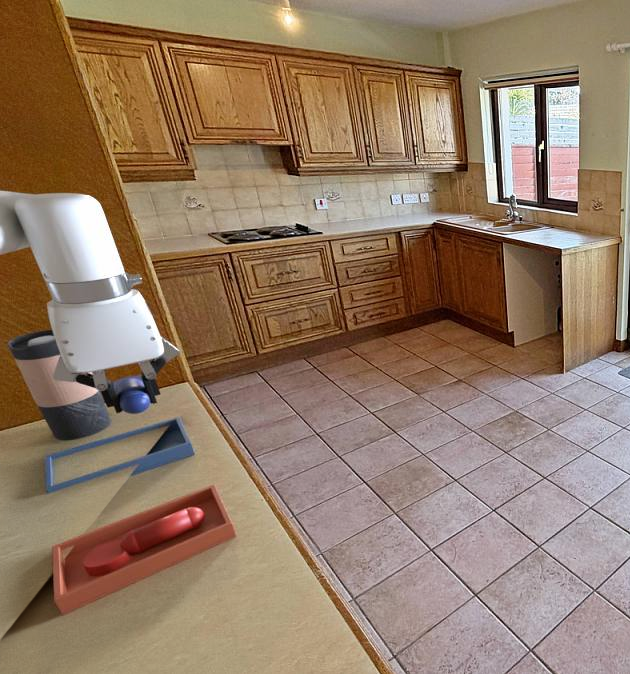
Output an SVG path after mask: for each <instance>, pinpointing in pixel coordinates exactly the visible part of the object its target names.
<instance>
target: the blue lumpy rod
mask: <svg viewBox="0 0 630 674" xmlns="http://www.w3.org/2000/svg"><path fill="white" fill-rule="evenodd" d="M141 376H142V374H140V375H137V374H136V375H131V376H126V377H122V378H119V379H117V380H115V381H113V384H114V386H115V389H116V391H117V394H118V397H119V402H120V407H121V409H122V410H123V411H122V412H124V413H127V414H130V415H137V414H141V413H144V412H145V411H146V410H148V409H149V407H150V405H151V403H150V398H149V396H148V395H147V392H146V389H145V387H144V384H143V381H142V378H141Z"/></svg>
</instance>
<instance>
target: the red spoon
mask: <svg viewBox="0 0 630 674" xmlns="http://www.w3.org/2000/svg"><path fill="white" fill-rule="evenodd" d="M203 520H204V513H203V511H202V510H201V509H199V508H197V507H189V508H186V509H183V510H181V511H178V512H176V513H173V514H171V515H168V516H166V517H163V518H161V519H158V520H156V521H153V522H151V523H148V524H146V525H143V526H141V527H138V528H136V529H133V530H131V531H129V532H128V533H126V534H125V535H124V536H123V538H122V540H118V541H112V542H109V543H106V544H104V545H101V546H99V547H97V548H96V549H94V550H93V551H91V552H90V553H89V554H88V555H87V556H86V557H85V558H84V560H83V566H84V568H85V570H86V572H87V573H88V574H89V575H91V576H101V575H105V574H108V573H111V572H113V571H115V570H117V569H119V568H121V567H122V566H124V565H125V564H126V563H127V562H128V561H129V560H130V559H131V558H132V556H133V553H139V552H142V551H144V550H146V549H149V548H151V547H153V546H156V545H158V544H160V543H163V542H165V541H167V540H170V539H172V538H174V537H177V536H179V535H181V534H184V533H186V532H188V531H191V530H193V529H195V528H197V527H198V526H200V525H201V523H202V522H203Z"/></svg>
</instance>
